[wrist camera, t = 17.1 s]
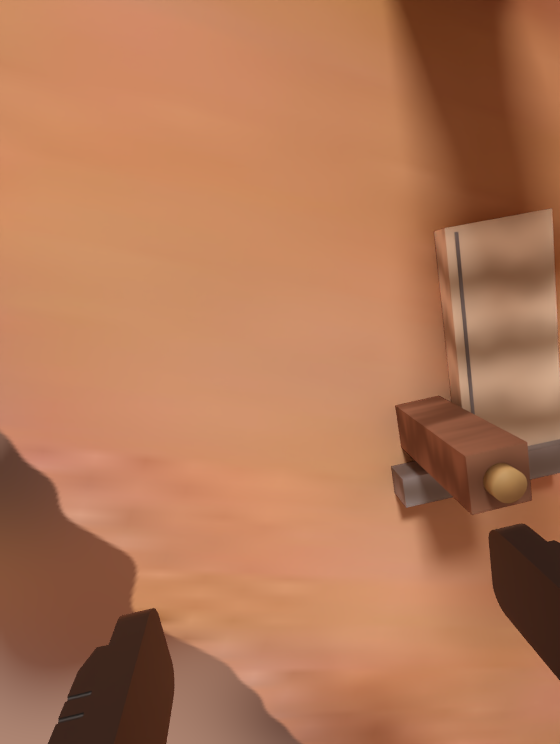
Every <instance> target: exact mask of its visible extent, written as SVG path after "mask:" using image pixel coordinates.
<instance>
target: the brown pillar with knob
mask: <svg viewBox="0 0 560 744" xmlns="http://www.w3.org/2000/svg"><path fill="white" fill-rule="evenodd" d="M395 407H396V414H397V421H398V427H399V434H400V441H401V447H402V448H403V449H404V450H405V451H406V452H407V453H408V454H409V455H410V456H411V457H412V458H413V459H414V460H415V461H416V462H417V463H418V464H419V465H420V466H421V467H422V468H423V469H425V470H426V471H427V472H428V473H429V474H430V475H431V476H432V477H433V478H434V479H435V480H436V481H437V482H438V483H439V484H440V485H441V486H442V487H443V488H444V489H445V490H447V491H448V492H449V493H450V494H451V495H452V496H453V497H454V498H455V499H456V500H457V501H458V502H459V503H460V504H461V505H462V506H463V507H464V508H465V509H466V510H467V511H468V512H470V513H471V514H472V515H474V514H478V513H482V512H486V511H490V510H494V509H498V508H503V507H507V506H511V505H515V504H519V503H523V502H527V501H531V500H532V495H531V483H530V470H529V457H528V444H527V442H526V441H524V440H522V439H520V438H519V437H517V436H515V435H513V434H511V433H509V432H507V431H505V430H503V429H501V428H499V427H497V426H496V425H494V424H492V423H490V422H488V421H486V420H484V419H482V418H480V417H478V416H476V415H475V414H473V413H471V412H469V411H467V410H465V409H463V408H461V407H459V406H457V405H455V404H454V403H452V402H450V401H448V400H446V399H444V398H442V397H440V396H435V397H431V398H426V399H422V400H418V401H413V402H409V403H404V404H400V405H395Z"/></svg>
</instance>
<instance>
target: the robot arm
mask: <svg viewBox="0 0 560 744" xmlns="http://www.w3.org/2000/svg"><path fill="white" fill-rule="evenodd" d="M489 548H490V560H491V571H492V582H493V589H494V592H495V596H496V598H497V601H498V603H499V605H500V607H501V609H502V610H503V612H504V613H505V615H506V616H507V617H508V618H509V620H510V621H511V622H512V623H513V625H514V626H515V627H516V628H517V629H518V631H519V632H520V633H521V634H522V635H523V637H524V638H525V639H526V640H527V641H528V643H529V644H530V645H531V646H532V647H533V649H534V650H535V651H536V652H537V654H538V655H539V656H540V657H541V658H542V660H543V661H544V662H545V663H546V664H547V666H548V667H549V668H550V669H551V670H552V672H553V673H554V674H555V675H556V676H557V678H558V679H559V680H560V543H559V542H557V541H554V540H553V541H549V542H547V541H546V540H544V539H543V538H542V537H541V536H539V535H538V534H537V533H536V532H535V531H533V530H532V529H531V528H530V527H528V526H527V525H525V524H517V525H513V526H508V527H504V528H500V529H495V530H492V531H490V533H489ZM173 696H174V670H173V664H172V660H171V656H170V653H169V650H168V646H167V643H166V639H165V636H164V632H163V629H162V625H161V622H160V618H159V615H158V612H157V611H156V609H155V608H152V609H148V610H144V611H139V612H135V613H131V614H127V615H122V616H120V617H119V619H118V621H117V624H116V626H115V629H114V632H113V635H112V637H111V640H110V643H109V645H106V646H101V647H97V648H96V649H95V650H94V652H93V653H92V654H91V656H90V657H89V658H88V659H87V661H86V662H85V663H84V664H83V666H82V667H81V668H80V670H79V671H78V673H77V675H76V678H75V680H74V682H73V685H72V687H71V690H70V693H69V694H68V701H67V702H65V704H64V707H63V709H62V711H61V714H60V716H59V722H58V724H57V725H56V726H55V728H54V730H53V733H52V735H51V737H50V740H49V742H48V744H166V742H167V735H168V729H169V723H170V716H171V709H172V703H173Z"/></svg>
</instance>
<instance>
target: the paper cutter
mask: <svg viewBox="0 0 560 744" xmlns="http://www.w3.org/2000/svg"><path fill="white" fill-rule="evenodd" d="M434 236H435V246H436V255H437V265H438V275H439V285H440V294H441V304H442V314H443V324H444V334H445V343H446V353H447V363H448V373H449V382H450V392H451V402H452V403H454V404H455V405H457V406H459V407H461V408H463V409H465V410H467V411H469V412H471V413H473V414H475V415H476V416H478V417H480V418H482V419H484V420H486V421H488V422H490V423H492V424H494V425H496V426H497V427H499V428H501V429H503V430H505V431H507V432H509V433H511V434H513V435H515V436H517V437H519V438H520V439H522V440H524V441H526V442H527V444H528V457H529V470H530V480H531V479H535V478H539V477H544V476H548V475H553V474H557V473H560V371H559V349H558V327H557V305H556V283H555V261H554V239H553V217H552V208H551V209H545V210H540V211H534V212H529V213H524V214H518V215H513V216H507V217H502V218H497V219H491V220H486V221H480V222H475V223H470V224H464V225H459V226H453V227H448V228H443V229H440V230H437V231H434ZM391 469H392V476H393V484H394V491H395V494H396V495H397V496H398V498H399V499H400V500H401V502H402V503H403V504H404V505H405V507H406V508H407V507H412V506H416V505H420V504H425V503H429V502H434V501H438V500H442V499H447V498H451V497H453V496H452V495H451V494H450V493H449V492H448V491H447V490H445V489H444V488H443V487H442V486H441V485H440V484H439V483H438V482H437V481H436V480H435V479H434V478H433V477H432V476H431V475H430V474H429V473H428V472H427V471H426V470H425V469H423V468H422V467H421V466H420V465H419V464H418V463H417V462H416V461H413V462H409V463H404V464H400V465H395V466H391Z"/></svg>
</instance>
